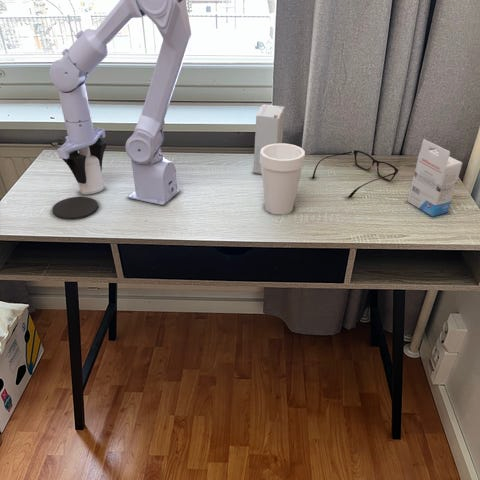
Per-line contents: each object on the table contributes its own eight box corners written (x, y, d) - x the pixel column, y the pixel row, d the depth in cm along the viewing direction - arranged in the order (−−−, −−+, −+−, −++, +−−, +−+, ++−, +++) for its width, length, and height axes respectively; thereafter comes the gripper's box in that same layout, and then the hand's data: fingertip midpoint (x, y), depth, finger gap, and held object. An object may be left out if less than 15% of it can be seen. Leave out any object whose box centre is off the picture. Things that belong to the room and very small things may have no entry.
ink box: (449, 212, 112) (468, 148, 103) (432, 217, 110) (450, 152, 101) (423, 197, 118) (439, 134, 109) (406, 201, 116) (421, 138, 107)
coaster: (107, 203, 115) (106, 201, 115) (80, 223, 108) (79, 221, 108) (71, 195, 118) (71, 193, 118) (43, 214, 111) (42, 212, 111)
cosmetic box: (259, 161, 134) (261, 103, 124) (281, 163, 133) (285, 105, 123) (253, 174, 127) (254, 114, 118) (276, 176, 126) (279, 116, 117)
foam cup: (271, 221, 109) (274, 163, 100) (251, 203, 115) (252, 148, 107) (307, 211, 112) (313, 155, 104) (286, 195, 118) (290, 140, 110)
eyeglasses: (399, 184, 123) (403, 169, 121) (353, 201, 116) (356, 185, 114) (352, 162, 133) (354, 147, 131) (307, 176, 127) (308, 160, 124)
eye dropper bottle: (102, 194, 118) (93, 144, 110) (78, 195, 118) (67, 145, 110) (105, 186, 122) (96, 137, 114) (82, 187, 121) (71, 137, 114)
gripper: (83, 106, 115) (94, 163, 124) (40, 126, 105) (55, 186, 114) (108, 110, 113) (118, 167, 122) (68, 131, 103) (81, 192, 112)
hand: (89, 177), depth 118 cm, fingers closed on eye dropper bottle, 5 cm apart
